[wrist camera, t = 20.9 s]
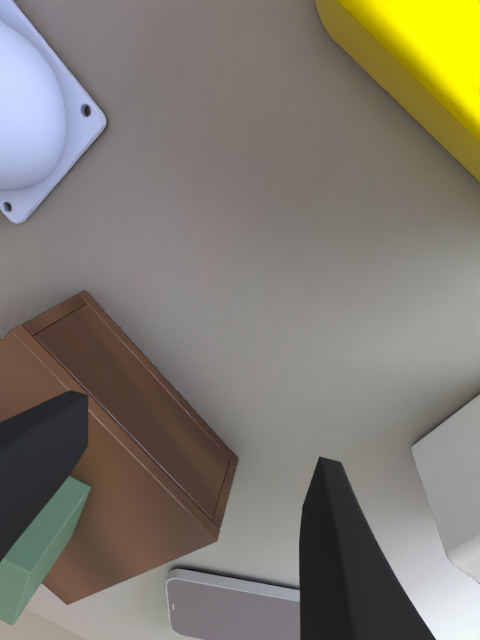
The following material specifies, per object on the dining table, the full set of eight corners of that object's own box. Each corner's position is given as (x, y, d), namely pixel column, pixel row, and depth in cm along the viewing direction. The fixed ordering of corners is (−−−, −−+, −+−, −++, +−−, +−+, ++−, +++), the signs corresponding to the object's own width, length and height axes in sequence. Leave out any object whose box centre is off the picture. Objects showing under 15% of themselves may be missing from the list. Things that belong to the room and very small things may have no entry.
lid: (73, 594, 25) (66, 605, 24) (-100, 442, 22) (-112, 450, 22) (220, 529, 20) (217, 541, 19) (21, 324, 17) (10, 330, 17)
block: (-1, 499, 21) (-78, 581, 17) (12, 446, 19) (-71, 522, 15) (71, 536, 21) (12, 627, 17) (92, 486, 19) (30, 574, 15)
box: (118, 522, 29) (80, 591, 25) (-21, 388, 27) (-94, 436, 22) (239, 459, 25) (220, 529, 20) (85, 289, 22) (22, 323, 17)
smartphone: (354, 672, 29) (170, 634, 32) (352, 658, 30) (174, 622, 33) (366, 612, 27) (164, 575, 29) (364, 599, 27) (168, 564, 30)
